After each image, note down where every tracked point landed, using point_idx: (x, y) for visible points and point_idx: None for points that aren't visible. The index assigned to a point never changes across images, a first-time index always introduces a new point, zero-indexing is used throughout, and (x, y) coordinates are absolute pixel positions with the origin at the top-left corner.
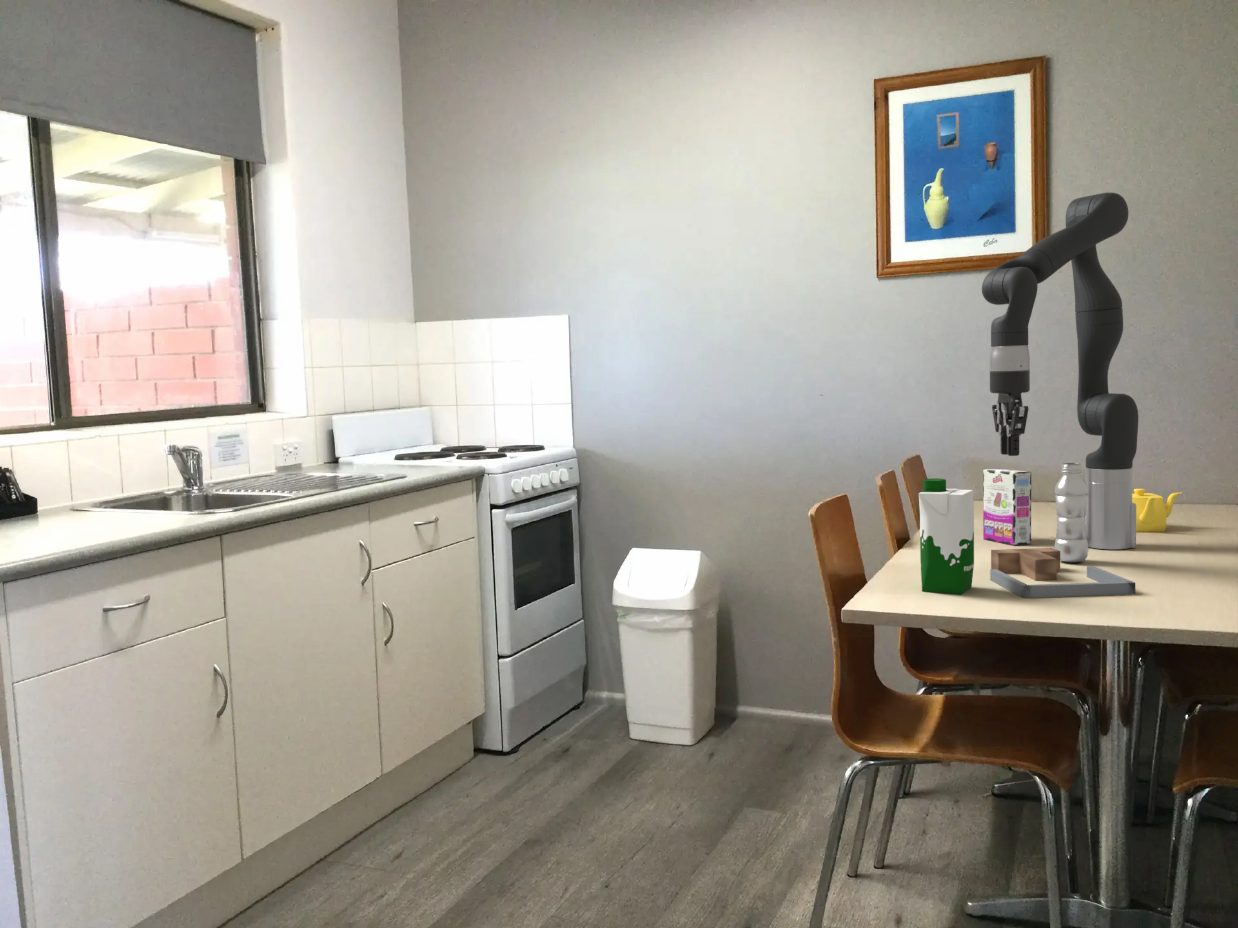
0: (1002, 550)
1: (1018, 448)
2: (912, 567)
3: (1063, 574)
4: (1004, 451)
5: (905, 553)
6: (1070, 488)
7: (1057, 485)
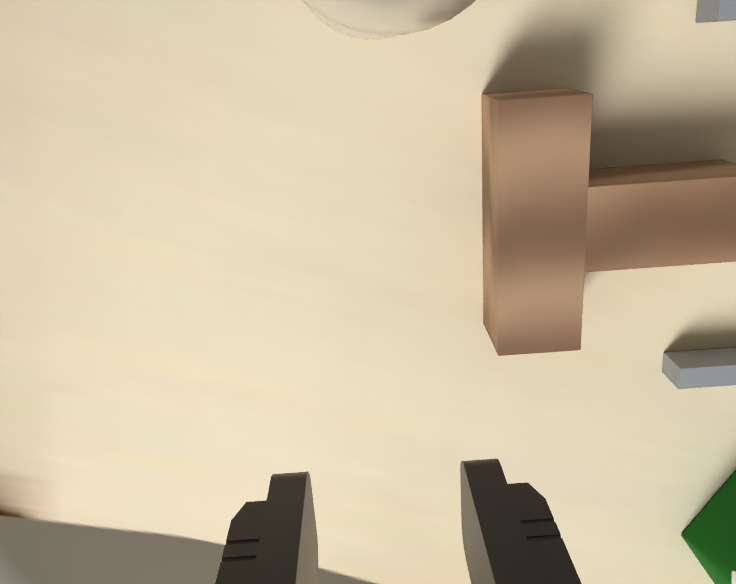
0: (522, 318)
1: (551, 515)
2: (403, 539)
3: (628, 98)
4: (315, 551)
5: (131, 518)
6: None
7: (403, 21)
